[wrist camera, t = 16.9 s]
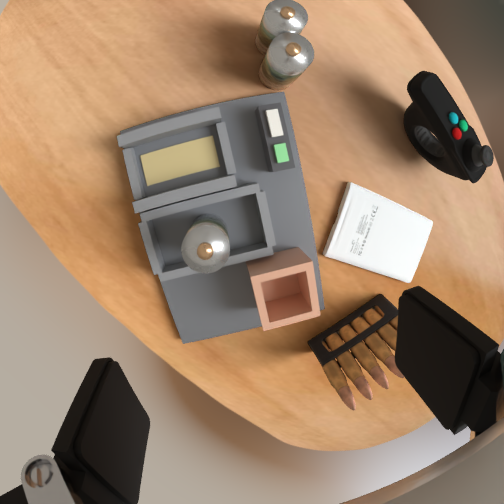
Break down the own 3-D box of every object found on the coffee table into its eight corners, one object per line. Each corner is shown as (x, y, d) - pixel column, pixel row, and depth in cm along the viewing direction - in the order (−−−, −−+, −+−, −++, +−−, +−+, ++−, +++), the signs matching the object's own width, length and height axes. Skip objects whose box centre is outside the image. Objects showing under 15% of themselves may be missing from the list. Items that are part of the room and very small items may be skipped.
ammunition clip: (380, 292, 33) (439, 342, 22) (385, 303, 34) (441, 354, 22) (307, 341, 34) (341, 410, 22) (313, 351, 34) (348, 419, 23)
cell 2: (251, 30, 24) (261, -3, 17) (285, 27, 24) (303, -5, 17) (259, 59, 25) (271, 30, 18) (294, 55, 25) (314, 27, 18)
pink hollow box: (245, 259, 29) (250, 277, 25) (298, 246, 29) (312, 261, 25) (256, 307, 31) (263, 331, 26) (306, 294, 31) (320, 315, 26)
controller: (430, 183, 30) (489, 192, 21) (371, 98, 27) (426, 78, 17) (447, 161, 30) (506, 166, 20) (392, 79, 27) (447, 57, 17)
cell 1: (184, 219, 28) (173, 234, 21) (221, 209, 28) (222, 220, 21) (196, 255, 29) (189, 281, 22) (232, 245, 29) (236, 268, 22)
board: (123, 132, 25) (109, 127, 22) (281, 94, 26) (291, 83, 22) (183, 339, 32) (180, 359, 28) (321, 305, 33) (334, 321, 29)
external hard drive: (403, 279, 34) (320, 252, 32) (426, 218, 32) (345, 181, 30) (410, 284, 32) (325, 257, 30) (434, 221, 31) (352, 181, 28)
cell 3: (255, 61, 25) (266, 31, 18) (290, 57, 25) (309, 29, 18) (262, 92, 26) (276, 70, 19) (298, 88, 26) (321, 66, 19)
